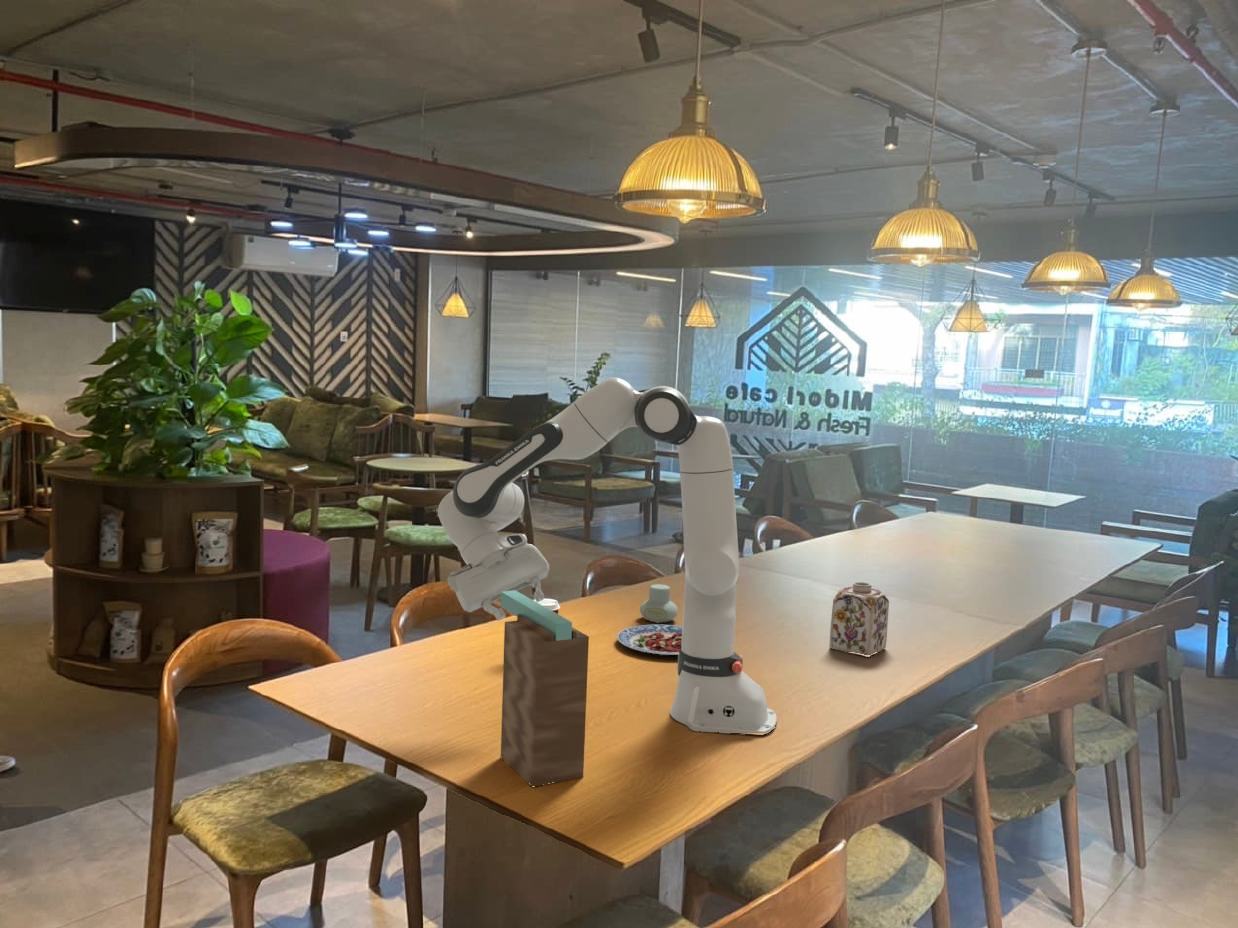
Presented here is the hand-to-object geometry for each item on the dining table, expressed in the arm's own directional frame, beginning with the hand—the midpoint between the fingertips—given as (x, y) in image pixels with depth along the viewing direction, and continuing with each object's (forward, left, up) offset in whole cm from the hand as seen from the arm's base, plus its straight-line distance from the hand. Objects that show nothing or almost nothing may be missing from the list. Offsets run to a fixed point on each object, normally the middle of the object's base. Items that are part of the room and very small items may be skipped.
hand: (522, 608), depth 196 cm
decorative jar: (-67, -80, -24) cm, 107 cm away
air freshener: (-11, -85, -24) cm, 89 cm away
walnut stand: (-12, +20, -24) cm, 33 cm away
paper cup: (+9, -42, -24) cm, 49 cm away
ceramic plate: (-18, -62, -24) cm, 69 cm away
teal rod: (-8, +16, +2) cm, 18 cm away
